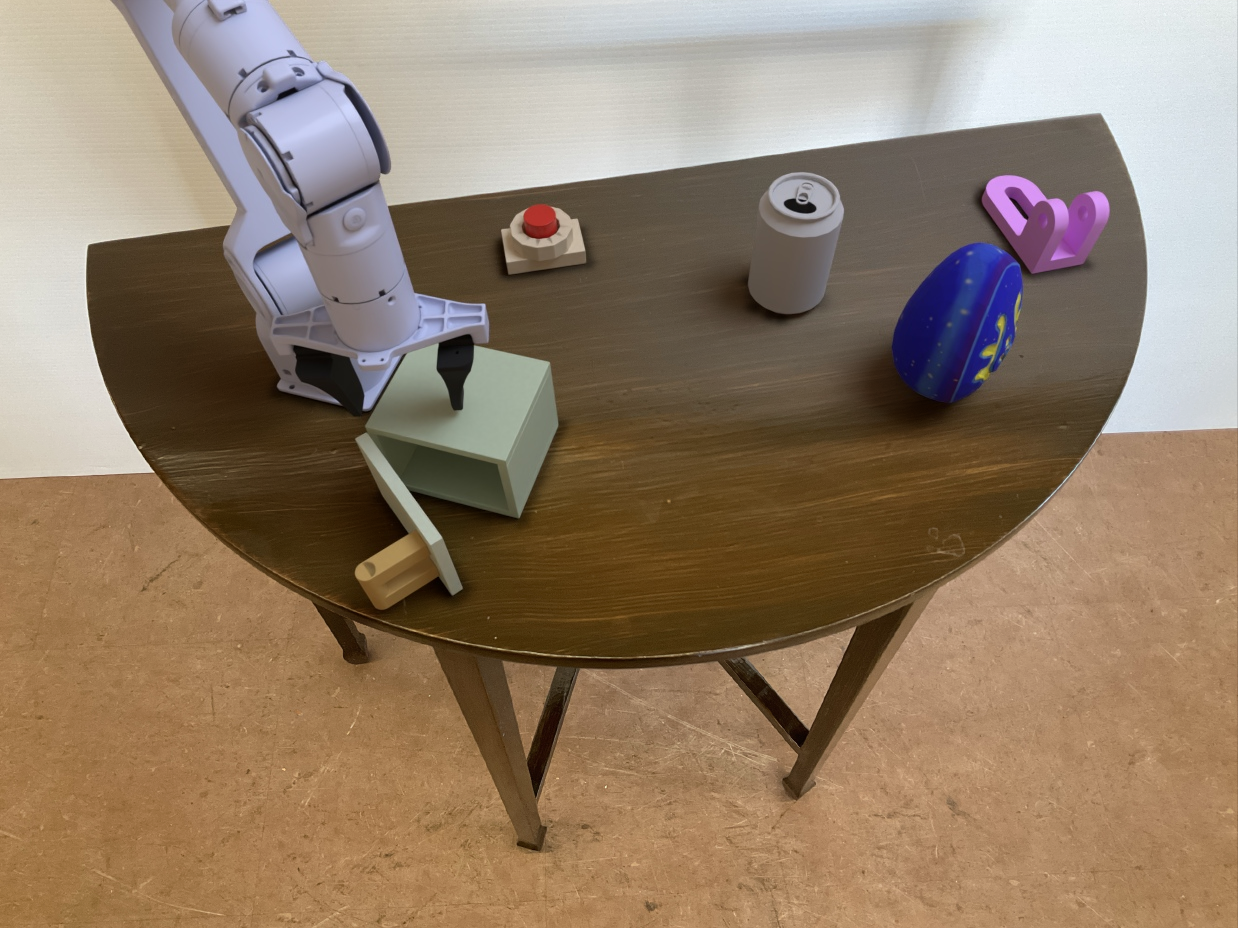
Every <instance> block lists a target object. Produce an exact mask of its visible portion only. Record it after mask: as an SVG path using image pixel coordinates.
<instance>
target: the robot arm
mask: <svg viewBox="0 0 1238 928" xmlns="http://www.w3.org/2000/svg"><path fill="white" fill-rule="evenodd" d="M110 2H111V3H112V4H113V5H114V7H115V8H116V9H117V10H118V11H119V12H120V14H121V15H122V17H123V18H124V20H125V21H126V23H127V25H128V26H129V28H130V30H131V31H132V34H133V35H134V37H135V39H136V40H137V42H138V43H139V45H140V47H141V48H142V50H143V52H144V54H145V56H146V57H147V59H148V60H149V62H150V64H151V65H152V67H153V69H154V71H155V72H156V74H157V76H158V77H159V79H160V80H161V83H162V84H163V86H164V87H165V89H166V91H167V92H168V94H169V96H170V97H171V100H172V101H173V102H174V104H175V106H176V107H177V109H178V110H179V112H180V114H181V116H182V118H183V120H184V121H185V122H186V124H187V126H188V128H189V130H190V131H191V133H192V134H193V136H194V138H195V140H196V141H197V143H198V145H199V146H200V148H201V150H202V152H203V153H204V155H205V156H206V158H207V160H208V162H209V163H210V165H211V167H212V168H213V170H214V171H215V173H216V175H217V177H218V178H219V180H220V182H221V183H222V185H223V187H224V188H225V190H226V192H227V194H228V195H229V197H230V199H231V200H232V202H233V203H234V205H235V207H236V211H235V213H234V216H233V218H232V221H231V223H230V226H229V227H228V230H227V232H226V234H225V236H224V239H223V241H222V242H223V243H222V249H223V257H224V259H225V260H226V263H228V265H229V267H230V268H231V271H232V272H233V276H234V278H235V280H236V282H237V284H238V286H239V288H240V290H241V291H242V293H243V295H244V296H245V298H246V300H247V302H249V304H250V306H251V307H252V308H253V310H254V312H255V328H256V329H255V330H256V334H257V337H258V339H259V342H260V344H261V345H262V347H263V349H264V351H265V352H266V354H267V356H268V358H269V360H270V362H271V363H272V365H273V367H274V368H275V370H276V373H277V374H278V376H279V378H280V379H279V381H278V382H277V385H276V388H277V389H278V391H280V392H283V393H287V394H292V395H296V396H299V397H304V398H309V399H312V400H316V401H320V402H324V403H329V404H333V405H337V406H342V407H343V408H344V409H345V410H347V411H348V413H350V414H351V416H353V417H355V418H356V417H363V412H370V411H372V409H373V407H374V406H375V404H376V402H377V401H378V400H379V399H378V398H379V397H380V396H381V394H382V392H383V390H384V388H385V387H386V385H387V383H388V382H389V380H390V378H391V376H392V375H393V373H394V371H395V370H396V367H397V366H398V364H399V363H400V361H401V359H402V357H403V356H404V355H406V354H407V353H409V352H412V351H415V350H418V349H421V348H425V347H428V346H431V345H434V344H437V343H439V345H438V353H437V365H436V369H437V372H438V373H439V374H440V375H441V377H442V379H443V380H444V382H445V384H446V387H447V389H448V393H449V398H450V402H451V406H452V408H453V410H454V411H455V410H462V409H463V400H464V387H463V386H464V383H465V380H466V378H467V376H468V374H469V373H470V371H471V368H472V365H473V360H474V345H475V344H477V345H478V344H489V341H490V340H489V339H490V320H489V314H488V311H487V305H486V303H467V302H459V301H455V300H450V299H445V298H440V297H435V296H430V295H427V294H421V293H417V292H415V291H414V287H413V284H412V280H411V278H410V274H409V270H408V268H407V265H406V262H405V259H404V255H403V252H402V248H401V246H400V243H399V240H398V239H399V238H398V236H397V233H396V229H395V226H394V223H393V220H392V216H391V213H390V209H389V206H388V203H387V200H386V196H385V193H384V190H383V186H382V183H381V180H380V179H381V175H386V176H387V175H389V174H390V173H391V170H392V159H391V154H390V150H389V147H388V144H387V141H386V138H385V135H384V133H383V131H382V129H381V126H380V124H379V122H378V120H377V118H376V116H375V115H374V113H373V111H372V109H371V107H370V106H369V104H368V102H367V101H366V99H365V98H364V96H363V95H362V93H361V92H360V91H359V89H358V88H357V87H356V85H355V84H354V83H353V81H352V80H351V79H349V77H347V76H346V75H345V74H344V73H342V72H340V71H338V70H335V69H334V68H332V67H331V66H330V65H329V64H328V62H327V61H325V60H324V59H322V60H320V61H318V62H317V61H314V59H313V58H312V57H311V55H310V53H309V52H308V51H307V50H306V49H305V47H304V46H303V44H302V43H301V42H300V41H299V39H298V38H297V37H296V35H295V34H294V33H293V30H291V29H290V27H289V26H288V25H287V23H286V22H285V21H284V19H283V18H282V17H281V15H280V14H279V13H278V12H277V10H276V8H275V7H274V6H273V5H272V3H271V2H270V1H269V0H110ZM290 234H292V235H291V236H288V235H290ZM286 236H288V237H286ZM284 237H286V238H285V239H283V240H280V239H282V238H284ZM277 240H278V242H276V243H274V244H272V245H270V244H271V243H273V242H275V241H277ZM279 240H280V241H279ZM267 245H270V246H268V247H266V248H265V246H267ZM262 248H263V249H262ZM261 249H262V250H261Z"/></svg>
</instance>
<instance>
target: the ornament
mask: <svg viewBox="0 0 1238 928" xmlns="http://www.w3.org/2000/svg"><path fill="white" fill-rule="evenodd" d="M1023 290H1024V283H1023V275H1022V270H1021V265H1020V263H1019V262H1018V261H1017V260H1016V259H1015V258H1014V257H1013V256H1012V255H1011V254H1010V253H1008V252H1007V251H1005V250H1003V249H1002V248H1000V247H998V246H997V245H995V244H992V243H986V242H973V243H969V244H966V245H964V246H961V247H959V248H958V249H956V250H955V251H952V252H951V253H950V254H949V255H948V256H946V257H945V258H944V259H943V260H942V261H941V262H940V263H939V264H937V266H935V267H934V268H933V269H932V271H931V272H929V274H928V275H927V276H926V277H925V278H924V279H923V281H922V282H921V283H920V285H918V286H917V288H916V290H914V292H913V294H912V295H911V296H910V298H909V299H908V300H907V302H906V304H905V306H904V307H903V309H902V311H901V313H900V315H899V317H898V319H897V323H896V324H895V327H894V330H893V335H892V342H891V354H892V361H893V366H894V368H895V370H896V372H897V373H898V375H899V378H900V379H901V381H903V382H904V383H905V384H906V385H907V386H908V387H909V388H910V389H911V390H912V391H914V392H916V393H917V394H918V395H921V396H923V397H924V398H927V399H931V400H933V401H935V402H941V403H945V404H952V403H956V402H958V401H961V400H963V399H965V398H967V397H969V396H970V395H972V394H973V393H975V392H976V391H977V390H979V388H980V387H981V386H982V385H983V384H984V383H985V382H986V381H987V380H988V378H989V377H990V374H992V373H995V372H996V371H997V370H998V369H999V366H1000V365H1001V363H1002V362H1004V360H1005V359H1006V357H1007V355H1008V353H1009V352H1010V349H1011V348H1012V346H1013V343H1014V342H1015V339H1016V332H1017V330H1018V327H1017V326H1018V325H1017V324H1018V322H1019V319H1020V315H1021V313H1022V303H1023V293H1024V291H1023Z"/></svg>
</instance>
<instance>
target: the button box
mask: <svg viewBox="0 0 1238 928" xmlns="http://www.w3.org/2000/svg"><path fill="white" fill-rule="evenodd" d="M551 207H552V208H553V209H554V210H555V213H556V221H557V231H556V233H555V234H554V235H553V236H551V237H549V238H544V239H535V238H531V237H530V236H528V235H527V233H526V231H525V225H524V218H523V215H524V212H525V211H526V210H527V209H528V208H529V207H527V208H526V209H524V210H522V211H520V212H518V213H516V214H515V216H514V217H513V219H512V221H511V222H510V224H509V228H502V229H500V232H501V233H500V234H501V239H502V245H503V252H504V256H505V263H506V269H507V274H508V276H509V275H515V274H516V275H517V274H523V273H529V272H536V271H543V270H549V269H556V268H563V267H564V268H565V267H570V266H576V265H584V264H587V254H586V253H587V252H586V247H585V244H584V238H583V235H582V230H581V227H580V223H579V222H580V221H579V219H578V218H572V219H571V216H570V215H569V214H567V213H566V212H565V211H563V210H562V209H561V208H559V207H554V206H551Z"/></svg>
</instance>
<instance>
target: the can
mask: <svg viewBox="0 0 1238 928" xmlns="http://www.w3.org/2000/svg"><path fill="white" fill-rule="evenodd" d="M844 208H845V207H844V205H843V202H842V200H841V194H840V192H839V188H838V187H836V185H835V184H834V183H833V182H832V181H830V180H828V179H827V178H826V177H824V176H822V175H819V174H816V173H812V172H805V171H804V172H803V171H800V172H799V171H798V172H791V173H787V174H784V175H781V176H779V177H777V178H776V179H775V180H773V181H772V182H771V184H770V186H769V187H768V189H767V190H766V191H765V192H764V194H763V195H762V196H761V197H760V200H759V204H758V209H757V216H756V225H755V232H754V238H753V246H752V253H751V258H750V259H751V260H750V265H749V266H750V267H749V274H748V281H747V287H748V291H749V294H750V295H751V297H752V298H753V300H754V301H755V302H757V304H759V305H760V306H762V307H763V308H765V309H767V310H769V311H771V312H774V313H776V314H781V315H792V314H801V313H804V312H807V311H810V310H812V309H813V308H815V307H816V306H817V305H819V304H820V303H821V302H822V299H823V298H824V296H825V293H826V288H827V286H828V282H829V277H830V273H831V270H832V264H833V260H834V256H835V253H836V249H837V245H838V242H839V241H838V240H839V238H840V237H839V236H840V232H841V228H842V225H843V220H844V215H845V209H844Z"/></svg>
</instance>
